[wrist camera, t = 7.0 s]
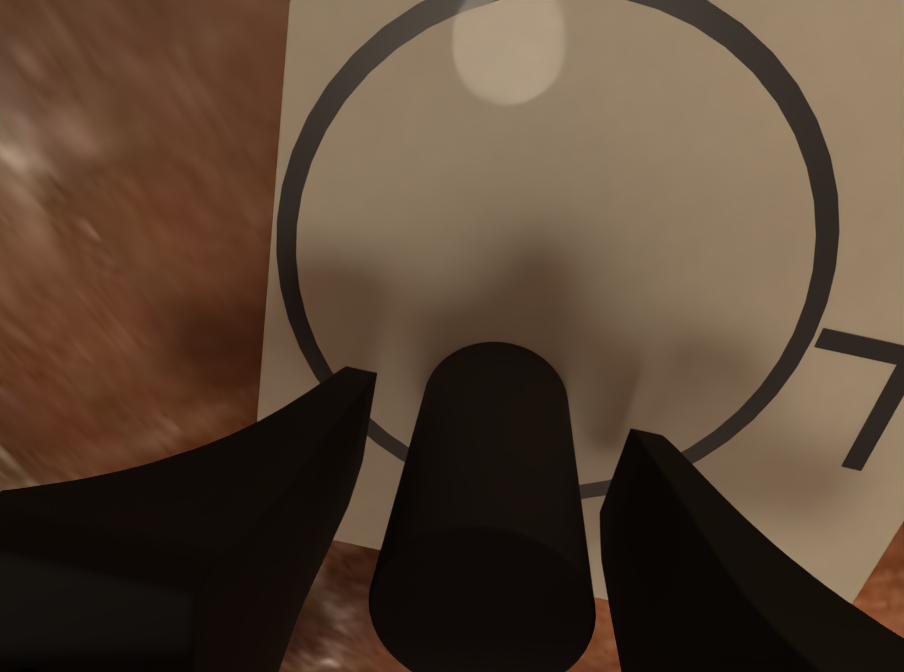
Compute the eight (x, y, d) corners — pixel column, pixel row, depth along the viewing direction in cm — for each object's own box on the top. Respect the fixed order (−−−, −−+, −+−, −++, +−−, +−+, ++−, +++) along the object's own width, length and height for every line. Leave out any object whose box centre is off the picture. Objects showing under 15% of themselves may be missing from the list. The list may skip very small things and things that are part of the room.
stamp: (547, 478, 14) (562, 715, 9) (412, 449, 14) (354, 669, 9) (585, 358, 13) (626, 556, 8) (437, 326, 13) (385, 504, 8)
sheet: (819, 638, 16) (825, 650, 15) (253, 513, 16) (247, 523, 16) (1260, -81, 9) (1286, -85, 9) (317, -280, 10) (310, -290, 9)
